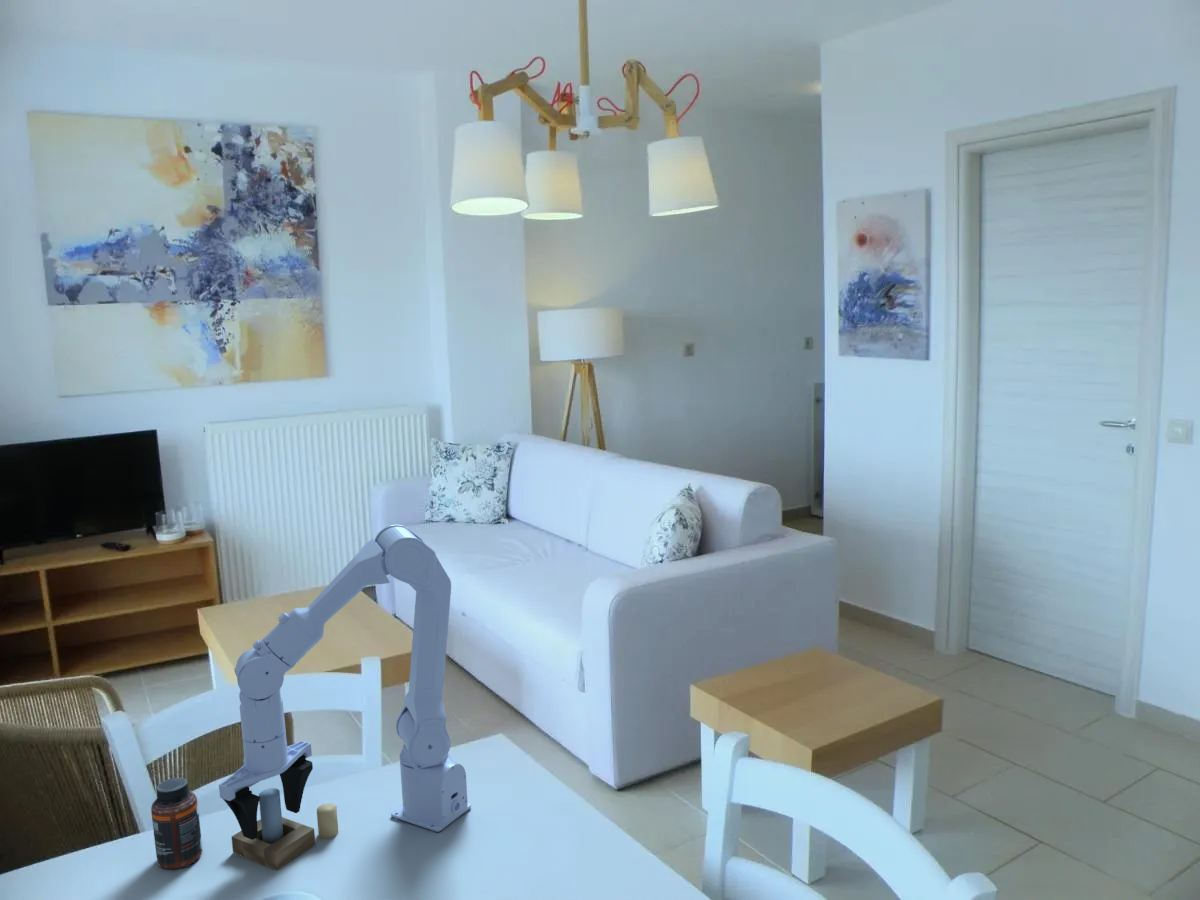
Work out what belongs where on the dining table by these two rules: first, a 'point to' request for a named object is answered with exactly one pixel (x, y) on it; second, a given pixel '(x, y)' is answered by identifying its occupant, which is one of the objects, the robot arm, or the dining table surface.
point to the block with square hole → (275, 845)
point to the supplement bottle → (176, 824)
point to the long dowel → (271, 815)
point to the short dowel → (327, 821)
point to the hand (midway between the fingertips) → (272, 823)
